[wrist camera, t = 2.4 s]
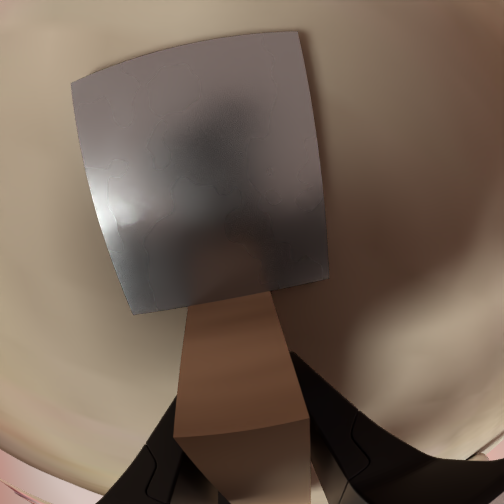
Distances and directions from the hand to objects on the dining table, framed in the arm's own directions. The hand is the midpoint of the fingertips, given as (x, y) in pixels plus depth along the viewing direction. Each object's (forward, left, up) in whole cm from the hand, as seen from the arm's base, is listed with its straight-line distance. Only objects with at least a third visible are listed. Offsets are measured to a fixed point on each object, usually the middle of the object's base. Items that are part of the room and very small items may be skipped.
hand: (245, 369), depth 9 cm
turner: (+1, 0, -1) cm, 1 cm away
